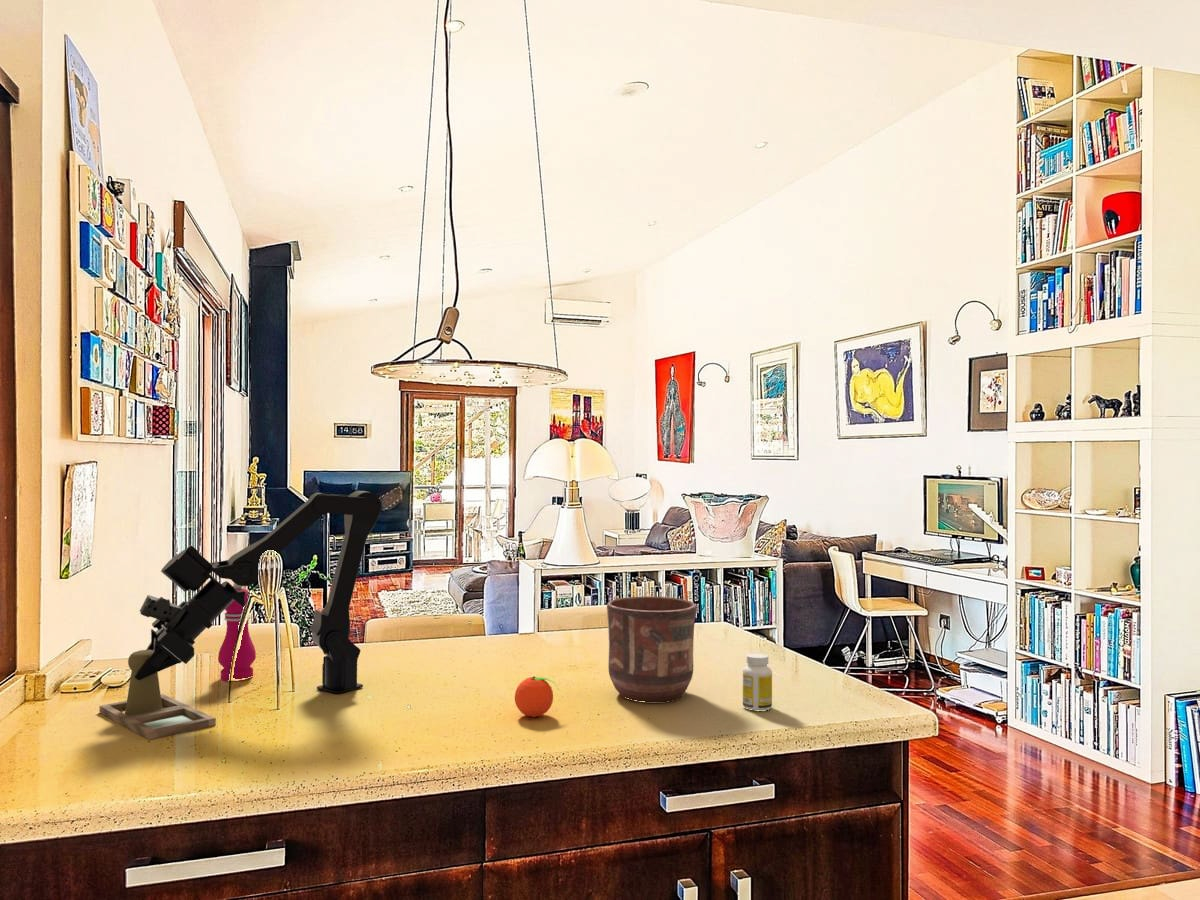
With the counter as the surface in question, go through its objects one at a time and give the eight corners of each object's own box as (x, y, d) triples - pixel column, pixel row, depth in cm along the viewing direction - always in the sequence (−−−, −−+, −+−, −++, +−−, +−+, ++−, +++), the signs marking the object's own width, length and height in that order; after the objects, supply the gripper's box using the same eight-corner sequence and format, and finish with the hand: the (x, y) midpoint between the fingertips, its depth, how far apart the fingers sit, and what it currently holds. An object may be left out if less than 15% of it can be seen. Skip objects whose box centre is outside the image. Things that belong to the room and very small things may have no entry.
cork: (133, 707, 163) (134, 647, 163) (168, 707, 164) (168, 647, 164) (118, 717, 157) (119, 654, 157) (154, 717, 158) (155, 654, 158)
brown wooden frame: (215, 725, 153) (215, 718, 153) (149, 739, 145) (149, 732, 145) (162, 700, 168) (162, 694, 168) (99, 712, 160) (99, 705, 160)
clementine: (556, 709, 165) (556, 671, 165) (561, 720, 158) (561, 680, 158) (512, 711, 163) (513, 672, 163) (515, 722, 157) (516, 682, 157)
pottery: (708, 689, 180) (708, 599, 180) (678, 712, 164) (678, 613, 164) (627, 680, 187) (627, 593, 187) (591, 700, 171) (591, 606, 171)
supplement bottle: (773, 705, 169) (774, 653, 169) (769, 713, 164) (770, 659, 164) (745, 702, 170) (745, 651, 170) (740, 710, 165) (740, 657, 165)
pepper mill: (242, 683, 181) (243, 584, 181) (210, 681, 182) (211, 582, 182) (262, 674, 188) (263, 579, 188) (231, 672, 189) (232, 578, 190)
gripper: (165, 573, 171) (98, 636, 165) (174, 586, 154) (100, 657, 149) (210, 611, 174) (146, 674, 169) (222, 628, 158) (152, 698, 153)
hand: (135, 675), depth 160 cm, fingers closed on cork, 5 cm apart
